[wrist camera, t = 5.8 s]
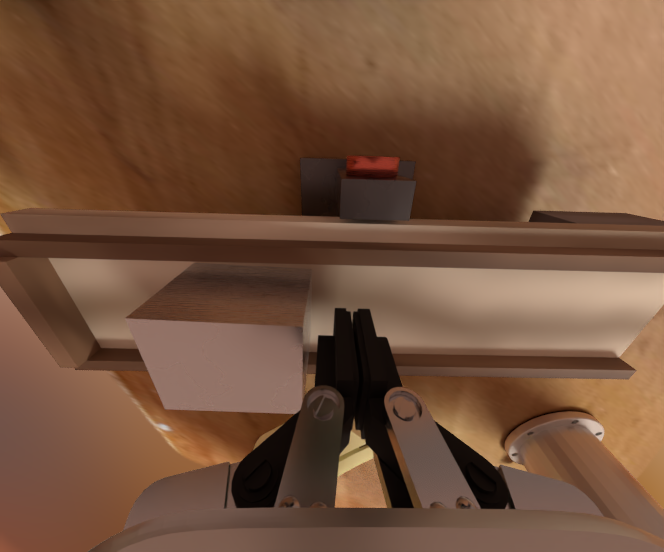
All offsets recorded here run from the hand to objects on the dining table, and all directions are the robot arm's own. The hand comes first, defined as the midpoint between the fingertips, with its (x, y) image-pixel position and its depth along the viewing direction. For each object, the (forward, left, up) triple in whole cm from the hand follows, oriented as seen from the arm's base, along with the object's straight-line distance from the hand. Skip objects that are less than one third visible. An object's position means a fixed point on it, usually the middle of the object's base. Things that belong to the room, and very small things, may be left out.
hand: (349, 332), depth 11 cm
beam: (0, -1, -6) cm, 6 cm away
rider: (0, +5, -2) cm, 5 cm away
